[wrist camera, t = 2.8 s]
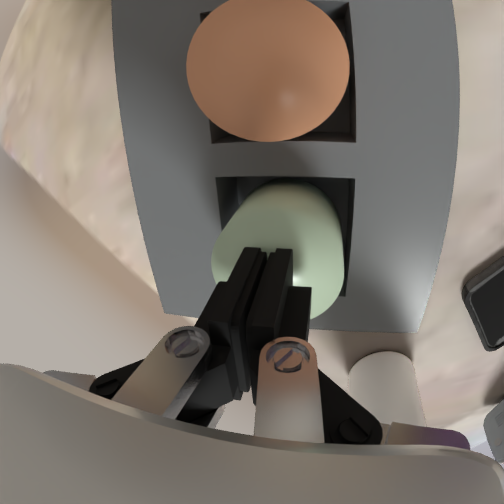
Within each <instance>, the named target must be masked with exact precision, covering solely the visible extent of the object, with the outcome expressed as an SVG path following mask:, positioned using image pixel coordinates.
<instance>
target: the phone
mask: <svg viewBox="0 0 504 504" xmlns="http://www.w3.org/2000/svg"><path fill="white" fill-rule="evenodd" d="M462 299H463V302H464V304H465V306H466V308H467V310H468V312H469V314H470V317H471V319H472V321H473V323H474V325H475V328H476V330H477V332H478V335H479V337H480V339H481V342H482V344H483V346H484V349H485V350H486V351H495V350H497V349H499V348H500V347H502V346H504V256H503V257H501V258H500V259H499V260H497V261H496V262H495V263H493V264H492V265H491V266H489V267H488V268H487V269H485V270H484V271H482V272H481V273H480V274H478V275H477V276H475V277H474V278H472V279H471V280H470V281H469V282H467V284H466V285H465V286H464V288H463V291H462Z"/></svg>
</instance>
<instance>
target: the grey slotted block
mask: <svg viewBox="0 0 504 504" xmlns="http://www.w3.org/2000/svg"><path fill="white" fill-rule="evenodd" d="M227 1H229V0H112V30H113V47H114V60H115V72H116V82H117V91H118V100H119V108H120V115H121V122H122V129H123V136H124V142H125V148H126V154H127V160H128V166H129V171H130V176H131V182H132V187H133V192H134V196H135V201H136V206H137V210H138V215H139V219H140V224H141V228H142V232H143V236H144V241H145V245H146V249H147V253H148V257H149V260H150V264H151V268H152V272H153V275H154V279H155V282H156V286H157V290H158V293H159V296H160V300H161V303H162V307H163V309H164V313H167V314H174V315H181V316H188V317H195V318H199V317H200V315H201V313H202V311H203V309H204V307H205V305H206V304H207V302H208V300H209V298H210V296H211V294H212V293H213V291H214V289H215V287H216V285H217V284H216V282H215V280H214V277H213V273H212V266H211V257H212V251H213V247H214V245H215V242H216V240H217V239H218V237H219V235H220V234H221V232H222V231H223V229H224V228H225V226H226V225H227V224H228V222H229V221H230V219H231V218H232V217H233V215H234V214H235V212H236V211H237V209H238V208H239V207H240V205H241V204H242V202H243V201H244V200H245V198H246V197H247V196H248V195H249V193H250V192H252V191H253V190H254V189H255V188H257V187H258V186H260V185H261V184H264V183H266V182H268V181H271V180H276V179H285V178H289V179H297V180H302V181H305V182H308V183H310V184H312V185H314V186H316V187H317V188H319V189H320V190H322V191H323V192H324V193H325V194H326V195H327V196H328V197H329V198H330V199H331V201H332V202H333V204H334V205H335V207H336V209H337V211H338V214H339V217H340V222H341V231H342V244H343V259H344V280H343V285H342V288H341V291H340V293H339V295H338V297H337V299H336V300H335V301H334V303H333V304H332V305H331V306H330V307H329V308H328V309H327V310H326V311H324V312H323V313H322V314H320V315H318V316H316V317H315V318H312V319H310V325H309V329H319V330H337V331H359V332H394V333H417V332H418V330H419V327H420V324H421V321H422V318H423V315H424V312H425V309H426V305H427V302H428V299H429V296H430V292H431V289H432V285H433V282H434V278H435V274H436V270H437V267H438V263H439V259H440V254H441V250H442V246H443V241H444V236H445V232H446V227H447V221H448V216H449V210H450V204H451V198H452V192H453V184H454V177H455V168H456V159H457V147H458V133H459V108H460V82H459V58H458V44H457V34H456V25H455V17H454V10H453V4H452V0H307V1H309V2H311V3H312V4H314V5H315V6H317V7H318V8H320V9H321V10H322V11H323V12H324V13H326V14H327V15H328V16H329V17H330V19H331V20H332V21H333V22H334V23H335V24H336V26H337V28H338V29H339V31H340V32H341V34H342V36H343V38H344V41H345V43H346V47H347V50H348V55H349V62H350V68H349V79H348V84H347V87H346V90H345V93H344V95H343V97H342V99H341V101H340V103H339V104H338V106H337V107H336V109H335V110H334V112H333V113H332V114H331V115H330V116H329V117H328V118H327V119H326V120H325V121H324V122H323V123H321V124H320V125H319V126H317V127H316V128H314V129H313V130H311V131H309V132H307V133H305V134H303V135H301V136H298V137H295V138H292V139H288V140H283V141H275V142H259V141H253V140H248V139H244V138H240V137H238V136H235V135H233V134H230V133H228V132H227V131H225V130H223V129H221V128H220V127H219V126H217V125H216V124H214V123H213V122H212V121H211V120H210V119H209V118H208V117H207V116H206V115H205V114H204V113H203V112H202V110H201V109H200V108H199V106H198V105H197V103H196V101H195V100H194V97H193V95H192V93H191V91H190V87H189V84H188V79H187V73H186V61H187V53H188V49H189V45H190V43H191V40H192V38H193V35H194V34H195V32H196V30H197V28H198V27H199V26H200V24H201V23H202V22H203V20H204V19H205V18H206V17H207V16H208V15H209V14H210V13H211V12H212V11H213V10H215V9H216V8H217V7H219V6H220V5H222V4H223V3H225V2H227Z"/></svg>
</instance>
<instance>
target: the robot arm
mask: <svg viewBox="0 0 504 504" xmlns="http://www.w3.org/2000/svg"><path fill="white" fill-rule="evenodd" d="M311 297H312V287H303V286H293V249H283V248H277V249H276V251H275V252H270V254H269V257H268V260H267V253H266V252H262V251H261V248H259V247H244V249H243V251H242V253H241V255H240V256H239V258H238V260H237V262H236V264H235V266H234V268H233V270H232V272H231V274H230V276H229V278H228V280H227V282H226V281H220V282H218V284H217V285H216V287H215V289H214V291H213V293H212V294H211V296H210V298H209V300H208V302H207V304H206V305H205V307H204V309H203V311H202V313H201V315H200V317H199V318H198V320H197V322H196V324H195V326H194V327H193V326H184V327H179V328H176V329H174V330H172V331H170V332H168V333H167V334H166V335H165V336H164V337H163V338H162V339H161V340H160V341H159V343H158V344H157V345H156V346H155V348H154V349H153V350H152V351H151V352H150V353H149V355H148V356H147V357H146V358H145V359H143V360H140V361H138V362H135V363H133V364H130V365H127V366H125V367H122V368H119V369H117V370H114V371H111V372H109V373H106V374H104V375H102V376H100V377H98V378H96V377H95V375H86V374H77V373H68V372H61V371H54V370H51V371H46V372H44V373H42V372H39V371H36V370H34V369H31V368H27V367H24V366H19V365H14V364H0V504H504V469H503V468H502V466H501V465H500V464H499V463H498V462H496V461H495V460H494V459H492V458H490V457H488V456H485V455H483V454H481V453H478V452H474V451H471V450H470V445H469V442H468V440H467V438H466V437H465V436H464V435H463V434H461V433H460V432H457V431H453V430H446V429H438V428H430V427H423V426H416V425H410V424H403V423H398V422H392V423H391V425H389V424H384V423H380V422H379V421H378V420H377V419H376V417H375V416H374V415H372V414H371V413H370V412H369V411H368V410H366V409H365V408H364V407H363V406H362V405H360V404H359V403H358V402H357V401H356V400H354V399H353V398H352V397H351V396H350V395H348V394H347V393H346V392H345V391H344V390H343V389H341V388H340V387H339V386H338V385H337V384H336V383H334V382H333V381H332V380H331V379H330V378H329V377H327V376H326V375H325V374H324V373H323V372H322V371H320V370H319V369H318V367H317V357H316V353H315V350H314V348H313V347H312V346H311V345H310V344H309V343H308V334H309V325H310V313H311ZM250 386H251V388H252V396H253V403H254V405H255V406H256V413H255V426H254V436H251V435H245V434H239V433H234V432H228V431H222V430H218V429H215V427H216V425H217V423H218V421H219V420H220V418H221V416H222V414H223V412H224V409H225V404H227V403H229V402H230V401H233V399H235V400H241V397H242V394H243V392H248V391H249V390H250Z"/></svg>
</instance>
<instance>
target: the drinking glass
mask: <svg viewBox="0 0 504 504" xmlns="http://www.w3.org/2000/svg"><path fill="white" fill-rule="evenodd" d="M347 394H348V395H350V396H351V397H352V398H353V399H354V400H356V401H357V402H358V403H359V404H360V405H362V406H363V407H364V408H365V409H366V410H368V411H369V412H370V413H371V414H372V415H374V416H375V417H376V419H377V420H378V421H379V422H380V423H384V424H389V425H391V423H392V422H398V423H403V424H410V425H416V426H423V427H427V424H426V419H425V415H424V410H423V406H422V402H421V397H420V393H419V389H418V385H417V380H416V373H415V368H414V365H413V363H412V361H411V360H410V359H409V358H408V357H406V356H405V355H403V354H401V353H397V352H391V351H385V352H377V353H373V354H370V355H368V356H366V357H364V358H362V359H361V360H359V361H358V362H357V363H356V364H355V365H354V366H353V367H352V368H351V370H350V372H349V376H348V391H347Z"/></svg>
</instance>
